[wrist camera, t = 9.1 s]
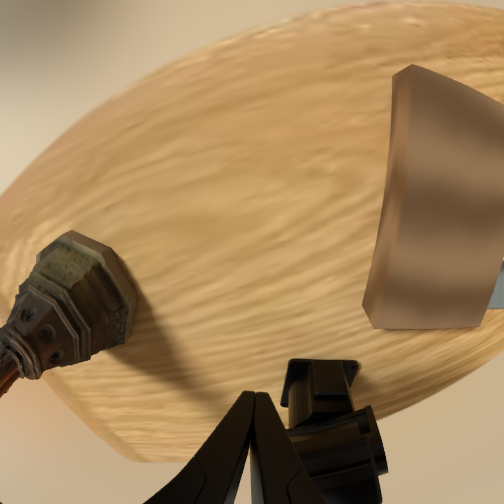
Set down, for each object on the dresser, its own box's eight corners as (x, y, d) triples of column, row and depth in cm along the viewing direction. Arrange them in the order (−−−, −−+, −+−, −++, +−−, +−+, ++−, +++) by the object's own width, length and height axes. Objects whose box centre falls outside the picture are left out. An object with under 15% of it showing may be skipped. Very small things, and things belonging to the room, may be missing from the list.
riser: (461, 307, 21) (479, 326, 18) (361, 304, 22) (373, 328, 18) (495, 116, 15) (520, 115, 12) (392, 75, 16) (412, 63, 12)
